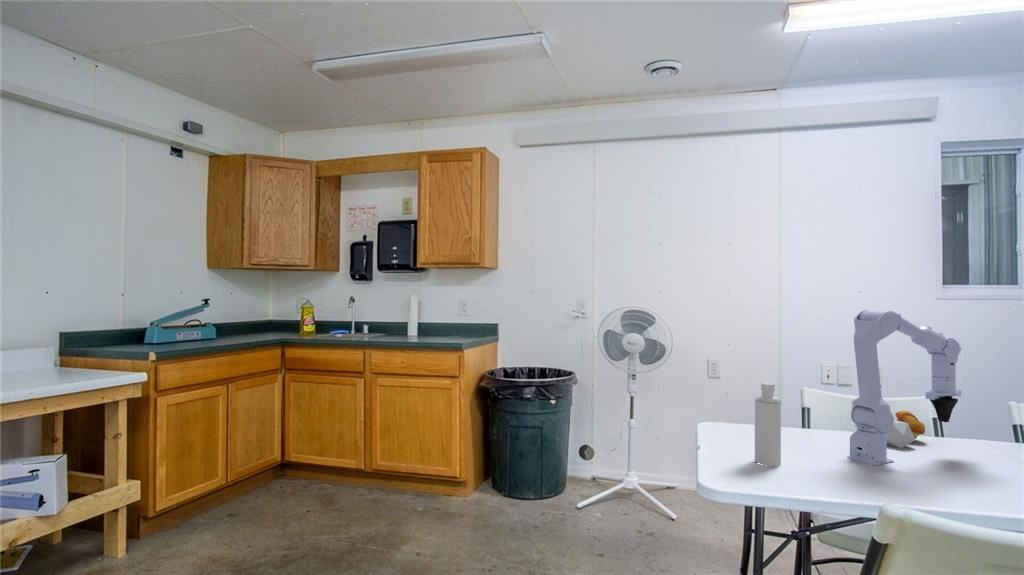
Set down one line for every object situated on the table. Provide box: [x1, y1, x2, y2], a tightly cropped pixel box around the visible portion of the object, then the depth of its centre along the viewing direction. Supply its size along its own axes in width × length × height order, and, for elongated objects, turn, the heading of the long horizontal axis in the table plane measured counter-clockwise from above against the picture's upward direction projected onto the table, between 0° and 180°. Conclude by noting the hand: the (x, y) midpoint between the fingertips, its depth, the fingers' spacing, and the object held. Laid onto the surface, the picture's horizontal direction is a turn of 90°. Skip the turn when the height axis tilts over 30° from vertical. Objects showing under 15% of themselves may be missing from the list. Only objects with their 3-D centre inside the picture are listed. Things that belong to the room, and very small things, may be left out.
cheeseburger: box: [894, 410, 926, 440], centre depth 182 cm, size 10×11×10 cm
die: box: [887, 419, 916, 449], centre depth 174 cm, size 8×9×10 cm
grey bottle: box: [754, 382, 782, 467], centre depth 153 cm, size 7×7×25 cm
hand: (943, 421), depth 163 cm, fingers closed
